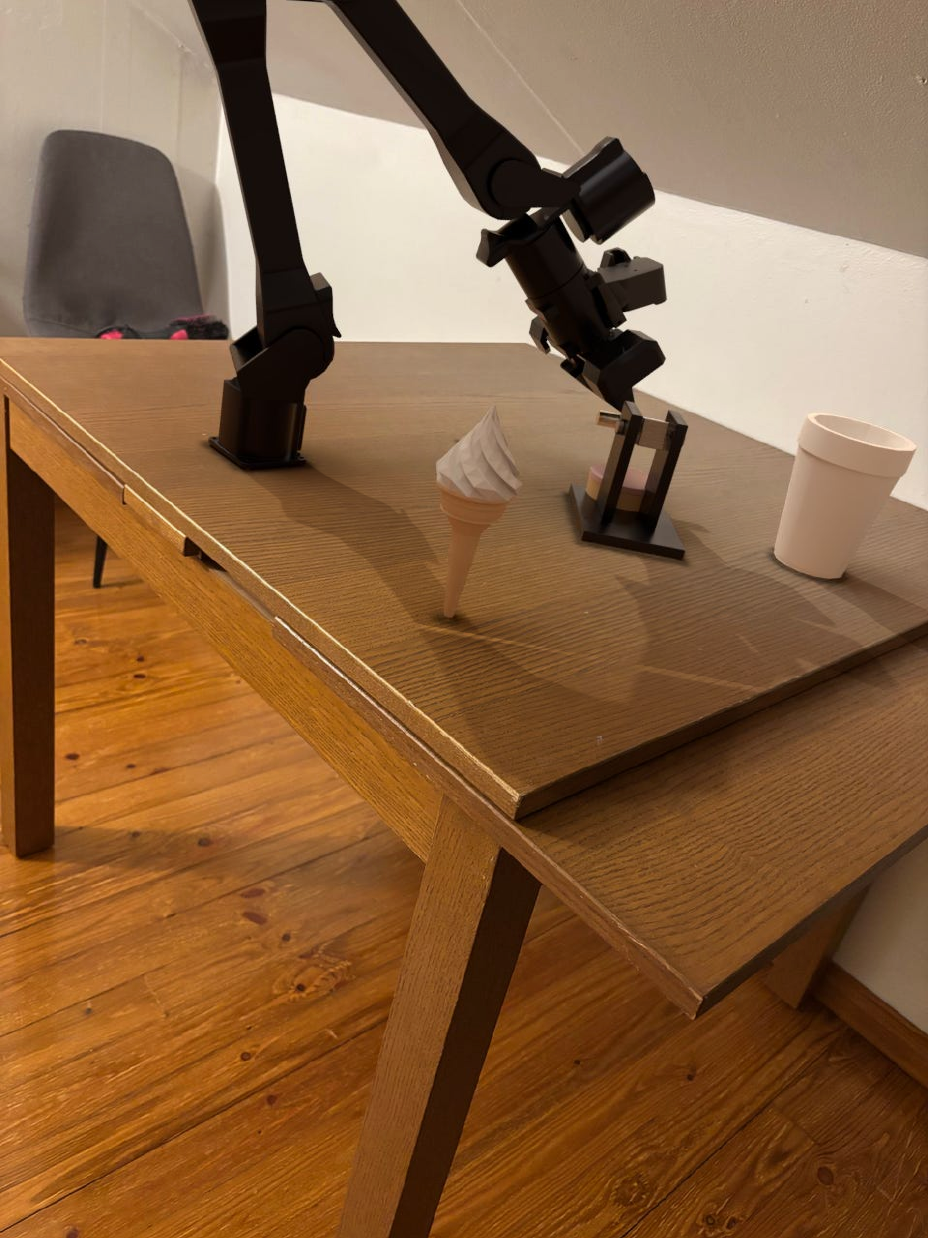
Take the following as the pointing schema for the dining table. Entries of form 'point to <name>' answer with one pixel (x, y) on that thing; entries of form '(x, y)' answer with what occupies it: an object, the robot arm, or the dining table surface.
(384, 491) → the dining table surface
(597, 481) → the cake
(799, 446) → the foam cup
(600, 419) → the lever
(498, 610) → the dining table surface
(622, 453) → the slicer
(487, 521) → the ice cream cone
